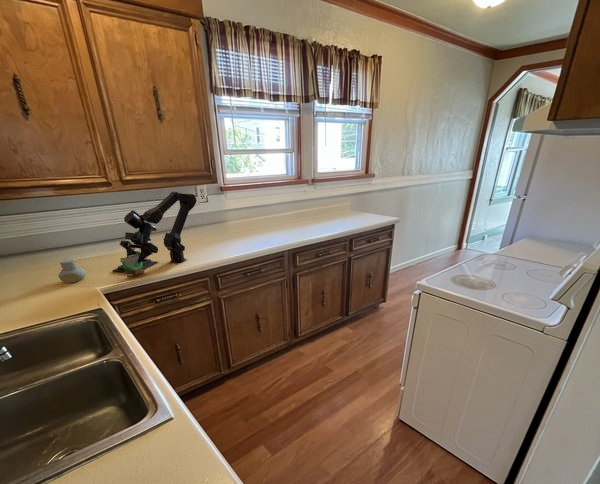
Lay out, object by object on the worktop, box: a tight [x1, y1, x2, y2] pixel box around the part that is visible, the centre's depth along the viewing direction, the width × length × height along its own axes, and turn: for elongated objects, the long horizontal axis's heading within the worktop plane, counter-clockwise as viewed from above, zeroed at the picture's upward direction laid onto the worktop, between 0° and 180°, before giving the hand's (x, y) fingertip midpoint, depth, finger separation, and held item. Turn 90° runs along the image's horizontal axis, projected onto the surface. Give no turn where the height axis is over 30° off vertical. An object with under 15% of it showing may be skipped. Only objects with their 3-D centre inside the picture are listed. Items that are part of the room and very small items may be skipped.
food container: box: [120, 250, 145, 278], centre depth 160 cm, size 12×6×10 cm, turn 168°
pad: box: [112, 258, 158, 274], centre depth 174 cm, size 14×18×2 cm
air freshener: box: [58, 258, 87, 284], centre depth 155 cm, size 11×8×10 cm
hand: (133, 262), depth 158 cm, fingers closed on food container, 6 cm apart
